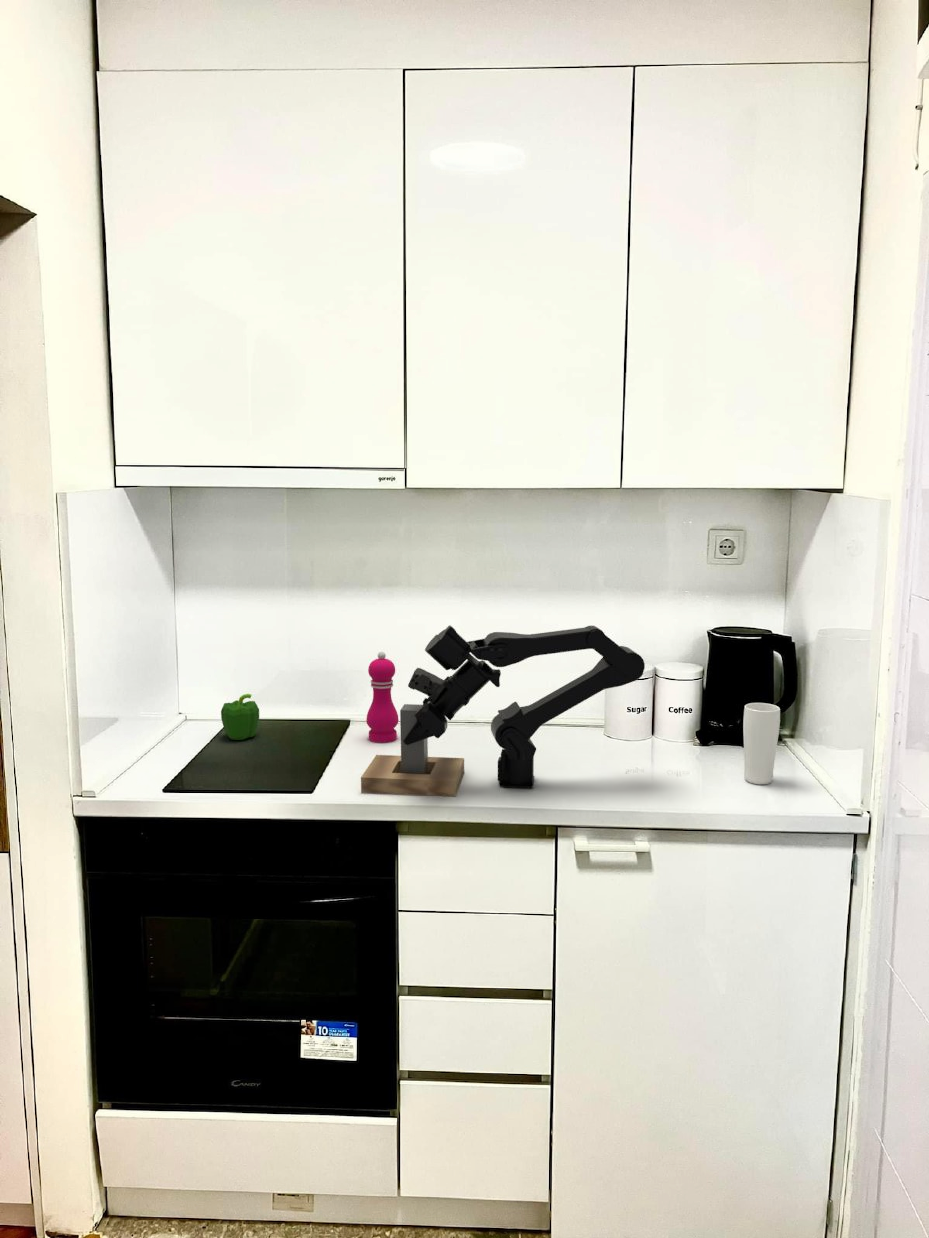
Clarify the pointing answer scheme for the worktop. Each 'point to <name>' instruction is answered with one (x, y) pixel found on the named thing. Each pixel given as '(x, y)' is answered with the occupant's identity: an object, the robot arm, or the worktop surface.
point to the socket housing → (413, 777)
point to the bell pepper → (240, 718)
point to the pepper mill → (382, 701)
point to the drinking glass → (760, 741)
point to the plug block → (415, 753)
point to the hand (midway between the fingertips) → (407, 739)
